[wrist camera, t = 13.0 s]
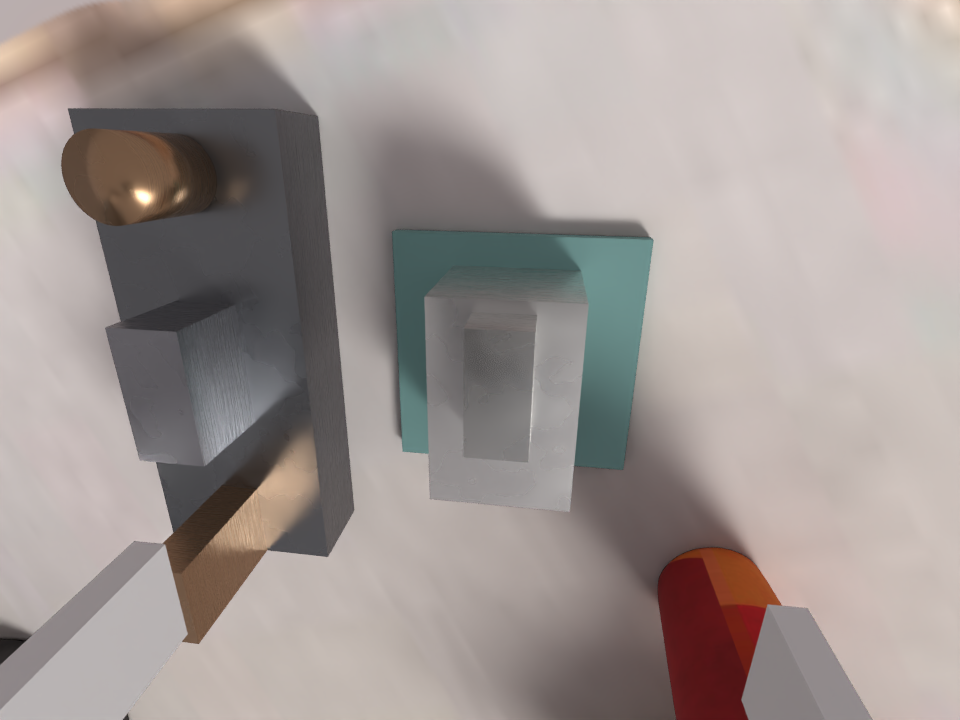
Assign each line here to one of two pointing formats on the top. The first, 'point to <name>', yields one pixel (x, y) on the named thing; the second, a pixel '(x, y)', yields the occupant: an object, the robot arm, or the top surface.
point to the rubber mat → (609, 335)
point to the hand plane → (222, 330)
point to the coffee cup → (711, 630)
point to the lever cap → (504, 384)
